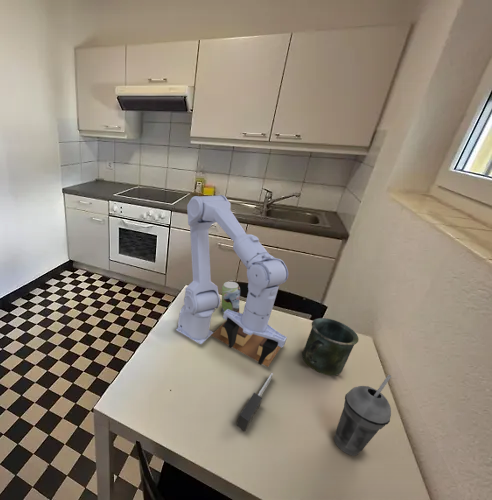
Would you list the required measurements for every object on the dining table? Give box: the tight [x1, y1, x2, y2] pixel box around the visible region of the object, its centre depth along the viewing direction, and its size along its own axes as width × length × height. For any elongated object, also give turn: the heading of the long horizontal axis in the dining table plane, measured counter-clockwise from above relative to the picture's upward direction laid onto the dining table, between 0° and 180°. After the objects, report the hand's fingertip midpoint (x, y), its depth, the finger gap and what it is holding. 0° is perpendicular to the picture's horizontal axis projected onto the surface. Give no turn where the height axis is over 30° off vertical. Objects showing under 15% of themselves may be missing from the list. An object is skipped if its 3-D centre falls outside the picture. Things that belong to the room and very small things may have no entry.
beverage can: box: [221, 281, 241, 314], centre depth 99 cm, size 6×7×12 cm
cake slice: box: [257, 337, 278, 360], centre depth 83 cm, size 4×8×4 cm, turn 138°
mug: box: [301, 317, 359, 377], centre depth 78 cm, size 11×15×12 cm
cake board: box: [210, 322, 282, 368], centre depth 87 cm, size 18×12×1 cm, turn 48°
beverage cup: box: [333, 374, 392, 457], centre depth 56 cm, size 7×7×20 cm
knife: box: [236, 372, 274, 432], centre depth 67 cm, size 2×18×4 cm, turn 137°
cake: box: [220, 321, 253, 346], centre depth 89 cm, size 8×8×4 cm
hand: (245, 353), depth 70 cm, fingers open, 7 cm apart
